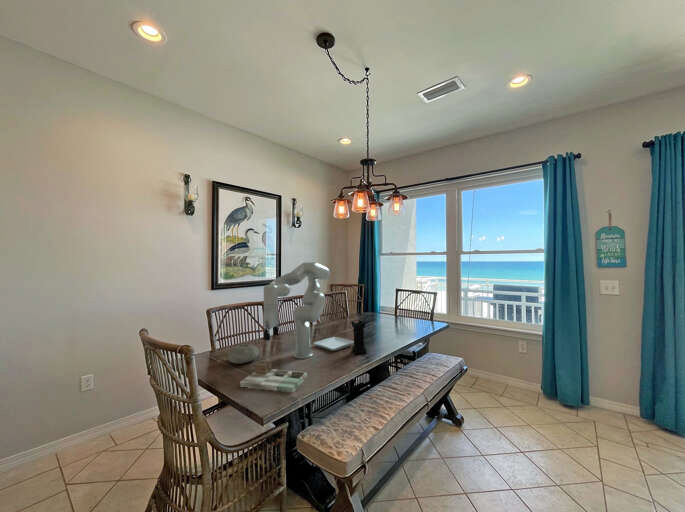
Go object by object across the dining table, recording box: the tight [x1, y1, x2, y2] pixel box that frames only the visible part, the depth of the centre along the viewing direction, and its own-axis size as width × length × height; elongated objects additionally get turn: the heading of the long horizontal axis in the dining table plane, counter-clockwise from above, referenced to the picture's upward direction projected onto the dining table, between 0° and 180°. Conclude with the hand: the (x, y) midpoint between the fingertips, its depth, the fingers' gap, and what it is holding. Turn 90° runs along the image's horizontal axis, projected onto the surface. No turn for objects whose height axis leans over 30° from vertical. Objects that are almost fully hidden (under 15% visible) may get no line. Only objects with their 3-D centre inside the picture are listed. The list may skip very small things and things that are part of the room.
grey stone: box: [227, 343, 259, 365], centre depth 173 cm, size 18×18×10 cm
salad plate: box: [313, 336, 354, 352], centre depth 199 cm, size 21×21×3 cm
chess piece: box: [350, 320, 368, 356], centre depth 184 cm, size 8×8×20 cm
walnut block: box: [254, 359, 273, 375], centre depth 150 cm, size 6×6×5 cm
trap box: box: [239, 368, 308, 394], centre depth 144 cm, size 18×28×2 cm, turn 75°
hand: (271, 337), depth 158 cm, fingers open, 9 cm apart
